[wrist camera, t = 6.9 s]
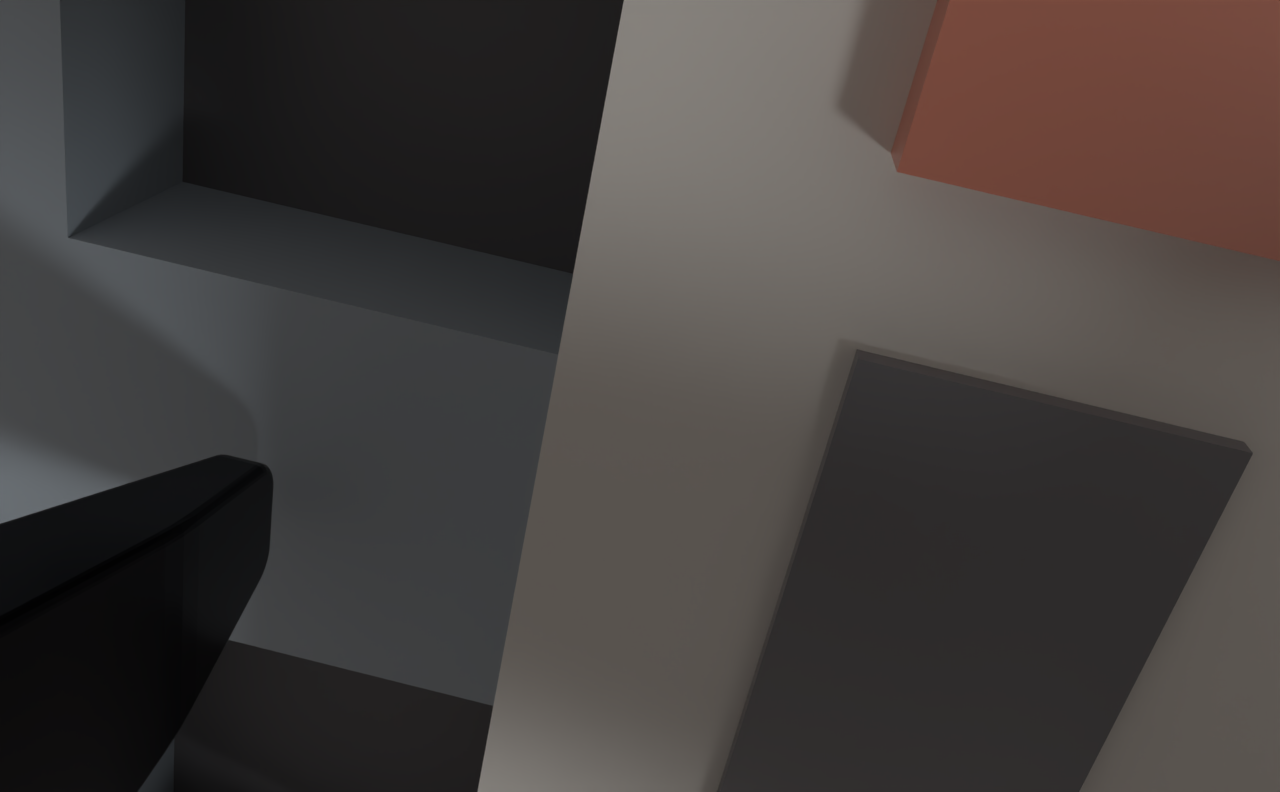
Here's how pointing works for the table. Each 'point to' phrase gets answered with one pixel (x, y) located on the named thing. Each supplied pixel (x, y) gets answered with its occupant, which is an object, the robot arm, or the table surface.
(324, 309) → the keyhole board
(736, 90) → the power strip
